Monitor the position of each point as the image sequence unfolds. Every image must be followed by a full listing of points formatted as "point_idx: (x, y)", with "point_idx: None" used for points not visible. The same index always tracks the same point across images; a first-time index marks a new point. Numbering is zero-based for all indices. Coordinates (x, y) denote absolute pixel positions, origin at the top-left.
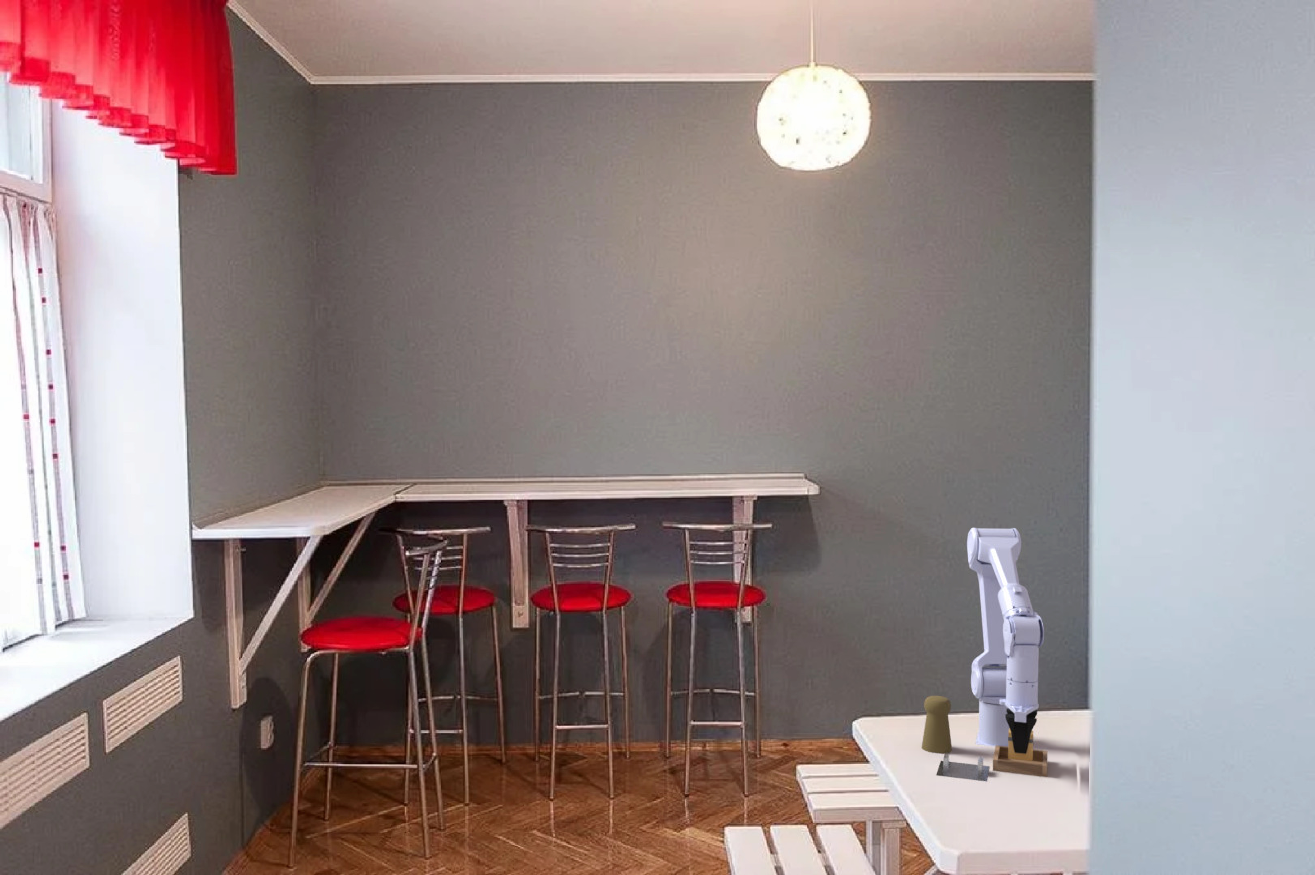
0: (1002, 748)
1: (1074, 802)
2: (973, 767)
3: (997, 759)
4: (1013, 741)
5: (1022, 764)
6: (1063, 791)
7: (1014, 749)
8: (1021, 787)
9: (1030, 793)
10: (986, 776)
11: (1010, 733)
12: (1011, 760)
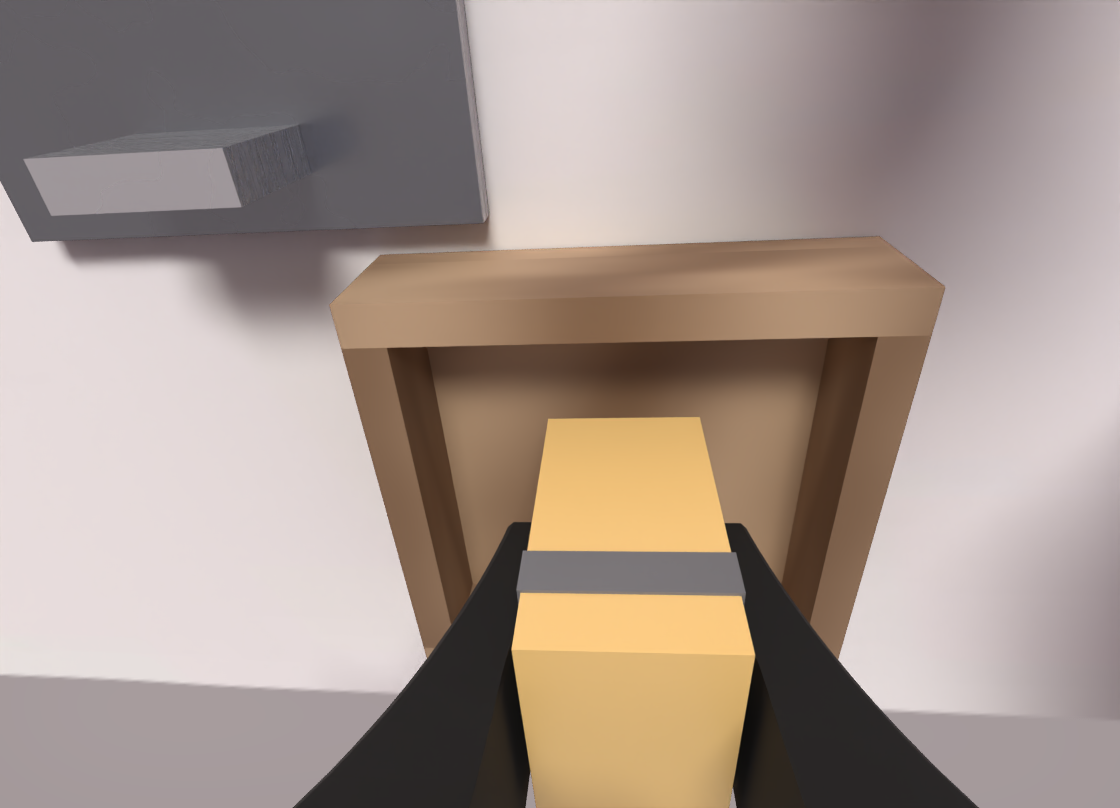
0: (864, 360)
1: (173, 674)
2: (343, 52)
3: (368, 348)
4: (465, 611)
5: (396, 533)
6: (306, 644)
7: (499, 544)
8: (206, 465)
9: (134, 512)
10: (155, 226)
11: (517, 659)
12: (750, 397)
